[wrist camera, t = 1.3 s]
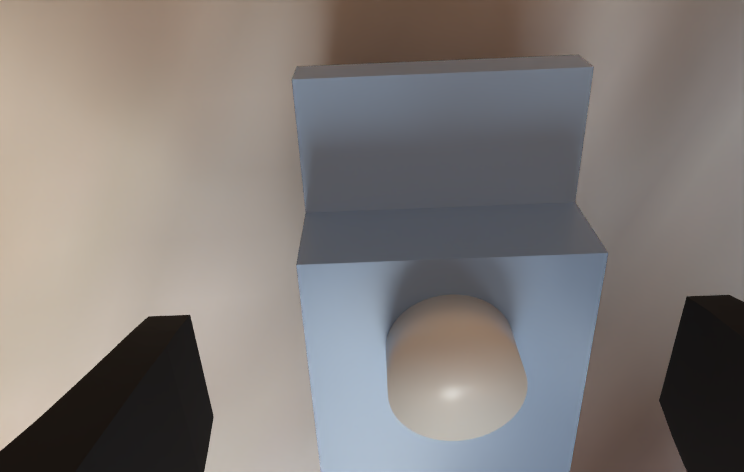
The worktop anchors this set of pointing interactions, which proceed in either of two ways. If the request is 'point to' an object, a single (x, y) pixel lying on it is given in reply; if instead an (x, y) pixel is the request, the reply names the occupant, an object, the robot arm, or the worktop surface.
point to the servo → (446, 262)
